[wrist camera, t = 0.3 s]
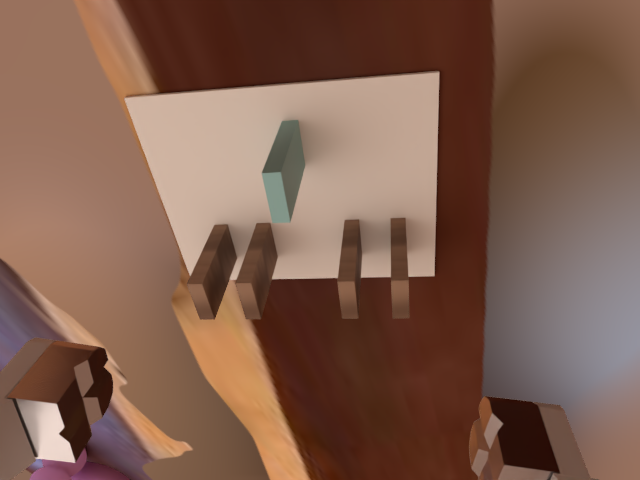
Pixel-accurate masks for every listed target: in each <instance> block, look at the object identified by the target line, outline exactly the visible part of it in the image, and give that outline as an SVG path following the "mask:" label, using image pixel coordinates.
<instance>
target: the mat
mask: <svg viewBox="0 0 640 480" xmlns="http://www.w3.org/2000/svg"><path fill="white" fill-rule="evenodd" d="M124 99H125V102H126V105H127V107H128V110H129V113H130V115H131V118H132V121H133V123H134V126H135V129H136V132H137V134H138V137H139V140H140V142H141V145H142V148H143V150H144V153H145V156H146V159H147V161H148V164H149V167H150V169H151V172H152V175H153V177H154V180H155V183H156V185H157V188H158V191H159V194H160V196H161V199H162V202H163V204H164V207H165V210H166V212H167V215H168V218H169V221H170V223H171V226H172V229H173V231H174V234H175V237H176V239H177V242H178V245H179V247H180V250H181V253H182V256H183V258H184V261H185V264H186V266H187V269H188V272H189V274H190V276H191V274H192V272H193V270H194V267H195V265H196V263H197V261H198V259H199V257H200V255H201V252H202V250H203V248H204V246H205V244H206V242H207V239H208V237H209V235H210V233H211V231H212V229H213V227H214V225H222V224H228V227H229V231H230V234H231V238H232V241H233V245H234V248H235V252H236V255H237V260H236V263H235V266H234V268H233V271H232V274H231V277H230V279H229V280H237V277H238V274H239V271H240V269H241V266H242V263H243V260H244V257H245V254H246V252H247V249H248V246H249V243H250V240H251V237H252V235H253V232H254V229H255V226H256V223H270V224H271V228H272V233H273V237H274V242H275V246H276V251H277V255H278V258H277V262H276V266H275V269H274V273H273V277H272V279H305V278H338V272H339V263H340V255H341V246H342V238H343V229H344V220H357V219H359V224H360V235H361V246H362V267H361V277H391V219H390V218H406V238H407V258H408V277H413V276H434V275H435V233H436V191H437V150H438V108H439V71H430V72H418V73H406V74H394V75H382V76H370V77H357V78H345V79H333V80H321V81H309V82H296V83H284V84H272V85H260V86H248V87H236V88H223V89H211V90H199V91H187V92H175V93H162V94H150V95H138V96H126V97H125V98H124ZM289 120H298V122H299V128H300V135H301V141H302V147H303V154H304V160H305V169H304V173H303V176H302V180H301V184H300V188H299V192H298V195H297V199H296V203H295V207H294V211H293V215H292V218H291V222H290V223H272V219H271V214H270V210H269V205H268V200H267V196H266V191H265V187H264V182H263V178H262V171H263V168H264V166H265V163H266V161H267V158H268V155H269V153H270V150H271V148H272V145H273V143H274V140H275V138H276V135H277V132H278V130H279V127H280V125H281V122H282V121H289Z"/></svg>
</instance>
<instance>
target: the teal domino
mask: <svg viewBox="0 0 640 480" xmlns="http://www.w3.org/2000/svg"><path fill="white" fill-rule="evenodd" d="M304 169H305V160H304V154H303V147H302V141H301V135H300V128H299V122H298V120H289V121H282V122H281V125H280V127H279V130H278V132H277V135H276V138H275V140H274V143H273V145H272V148H271V150H270V153H269V155H268V158H267V161H266V163H265V166H264V168H263V171H262V178H263V182H264V187H265V191H266V196H267V200H268V205H269V210H270V214H271V219H272V223H290V222H291V218H292V215H293V211H294V207H295V203H296V199H297V195H298V192H299V188H300V184H301V180H302V176H303V173H304Z"/></svg>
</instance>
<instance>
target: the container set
mask: <svg viewBox="0 0 640 480" xmlns="http://www.w3.org/2000/svg"><path fill="white" fill-rule="evenodd" d="M86 459H87V453H86V450H85V448H84V450H83V451H82V453H81V455H80V456H79V458H78V460H77V461H76V463H73V462H64V461H55V460H46V459H42V462H43V468H40V469H38V470H36V471H35V472H34V473H33V474H32V475H31V477H30V480H130V479H129V478H128V477H126V476H125V475H124V474H122V473H121V472H119V471H117V470H115V469H113V468H110V467H107V466H105V465H101V464H97V463H92V462H86Z"/></svg>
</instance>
